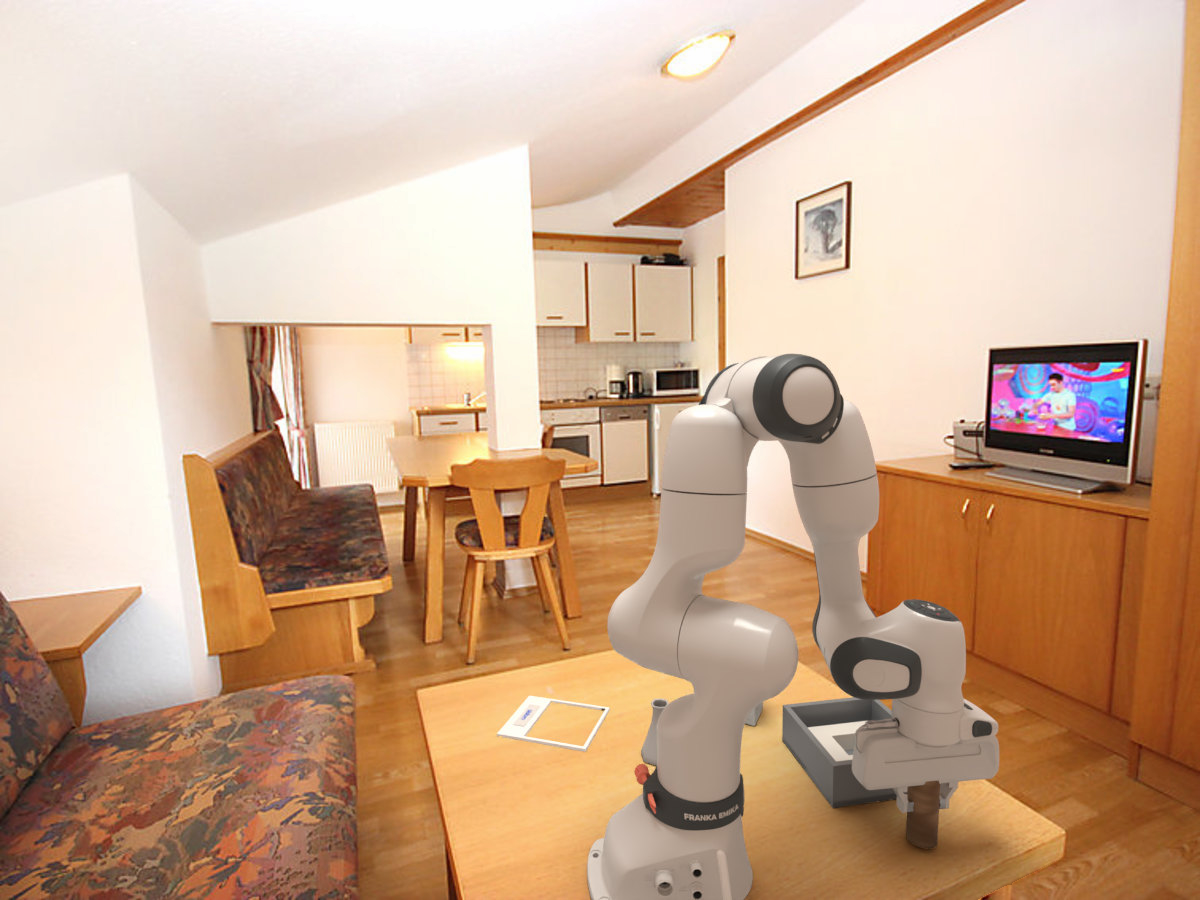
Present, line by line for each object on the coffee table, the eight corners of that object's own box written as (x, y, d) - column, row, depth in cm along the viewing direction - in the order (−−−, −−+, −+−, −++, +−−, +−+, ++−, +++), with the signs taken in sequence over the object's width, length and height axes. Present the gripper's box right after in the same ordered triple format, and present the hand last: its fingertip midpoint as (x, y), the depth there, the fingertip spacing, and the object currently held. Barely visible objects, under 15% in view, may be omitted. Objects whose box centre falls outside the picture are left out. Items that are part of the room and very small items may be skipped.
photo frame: (529, 694, 131) (609, 706, 125) (529, 699, 131) (609, 711, 126) (496, 732, 117) (585, 748, 112) (497, 738, 117) (585, 753, 112)
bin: (832, 807, 96) (833, 766, 95) (782, 740, 113) (782, 704, 113) (937, 793, 98) (939, 753, 97) (872, 730, 116) (873, 695, 115)
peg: (917, 850, 86) (919, 783, 85) (900, 829, 90) (902, 765, 89) (943, 847, 86) (946, 781, 85) (925, 827, 90) (928, 763, 89)
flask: (679, 770, 106) (678, 715, 105) (637, 765, 107) (636, 712, 106) (682, 745, 113) (681, 693, 112) (643, 741, 114) (642, 690, 113)
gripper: (868, 735, 82) (865, 831, 83) (1010, 723, 84) (1004, 816, 86) (844, 710, 88) (842, 800, 90) (976, 699, 90) (972, 787, 92)
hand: (922, 808), depth 88 cm, fingers closed on peg, 4 cm apart
